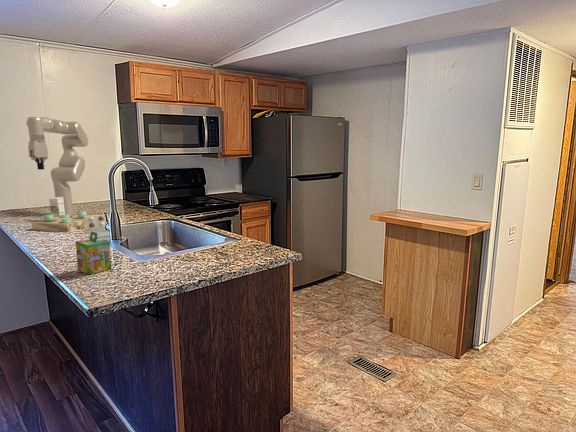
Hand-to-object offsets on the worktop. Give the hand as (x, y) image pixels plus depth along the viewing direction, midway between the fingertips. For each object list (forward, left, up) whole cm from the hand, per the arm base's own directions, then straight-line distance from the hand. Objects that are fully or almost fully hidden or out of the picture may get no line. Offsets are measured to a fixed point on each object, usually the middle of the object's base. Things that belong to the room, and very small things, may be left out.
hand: (41, 169), depth 245 cm
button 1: (+16, +18, -28) cm, 37 cm away
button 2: (+4, +18, -31) cm, 36 cm away
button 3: (+16, +30, -31) cm, 46 cm away
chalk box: (+74, +97, -32) cm, 126 cm away
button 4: (+4, +30, -29) cm, 41 cm away
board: (+10, +24, -32) cm, 41 cm away
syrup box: (-4, +5, -32) cm, 33 cm away
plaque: (+9, +44, -32) cm, 55 cm away
